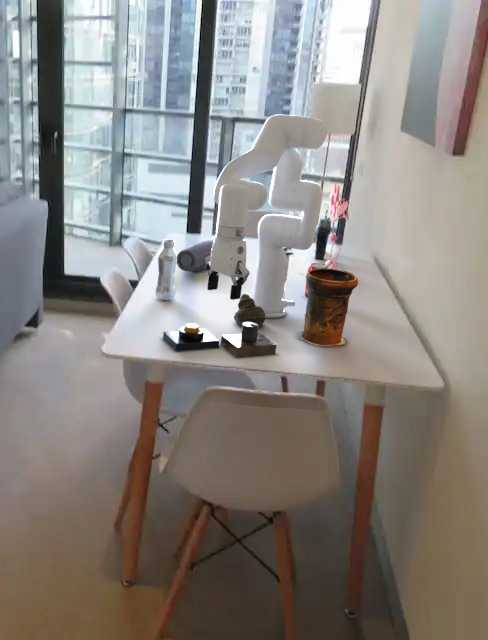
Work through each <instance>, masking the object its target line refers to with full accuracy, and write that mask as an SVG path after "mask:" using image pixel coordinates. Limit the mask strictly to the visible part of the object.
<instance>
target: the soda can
mask: <svg viewBox="0 0 488 640" xmlns="http://www.w3.org/2000/svg"><path fill="white" fill-rule="evenodd" d="M321 268H327V269H329V266H328V264H327V265H326V264H325V263H321V262H312V263H311V262H310V265H309V267H308V269H307V272H308V271H311V270H313V269H321ZM304 286H305V287H304V293H303V294H304V297H305V298H306V299H307V300H308V283H307V280H306V279H305V285H304Z"/></svg>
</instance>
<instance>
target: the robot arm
mask: <svg viewBox="0 0 488 640" xmlns="http://www.w3.org/2000/svg"><path fill="white" fill-rule="evenodd" d="M327 135H328V128H327V124H326V122H325V121H324V120H323V119H319V118H315V117H311V116H306V115H296V114H295V115H294V114H293V115H292V114H280V113H279V114H273V115H271V116H269V117H267V119H266V120H265V122H264V124H263V125H262V127H261V129H260V131H259V133H258V135H257V137H256V138H255V140H254V143H253V145H252V147H251V149H250V150H248V151H245V152H244V153H242V154H240V155H238V156H236V157H235V158H234V159H232V160H230V161H229V162H228V163H226V165H225V166H224V167H223V168H222V171H221V172H220V174H219V176H218V177H217V180H216V182H215V184H214V187H213V193H212V196H213V200H214V202H215V204H217V205H218V210H217V217H216V230H215V234H214V238H213V246H212V251H211V255H210V256H208V257H205V261H206V264H207V265H206V267H205V268H206V271H207V276H208V278H207V291H214V290H218V287H219V279H220V275H219V274H221V275H223V276H226V277H229V278H230V279H231V282H232V285H230V295H229V299H230V300H231V301H234V300H240V298H241V296H242V288H243V285H245V283H246V281H247V280H248V278H249V276H250V270H249V269H248V268H247V241H246V238H245V236H246V232H245V231H246V224H247V215H248V211H249V212H250V211H251V212H255V211H258V210H260V209H261V208H263V207H264V205H266V203H267V200H268V205H269V206H270V207H271V208H272V209H274V210H278V211H284V212H291V213H297V214H298V213H299V214H301V217H299V216H292V215H286V214H278V213H269V214H265V215H264V216H262V217H261V219H260V220H259V221H258V225H257V257H256V266H255V275H254V283H253V291H252V297H251V298H252V299H253V300H254V302H255V305H256V306H257V307H261V308H262V309H263V310H264V313H265V319H266V318H268V319H276V318H277V319H278V318H282V317H284V316H285V315H286V309H285V308H287V307H288V308H290V307H295V306H296V301H295V300H288V299H284V298H283V297H284V291H285V282H286V275H287V268H288V256H287V254H286V252H285V250H284V248H287V249H291V250H292V249H293V250H300V251H305V250H308V249H310V248H311V247H312V245H313V243H314V237H315V233H316V228H317V223H318V224H319V218H320V213H321V207H322V201H323V189H322V186H321V185H320V184H319V183H317V182H314V181H308V180H302V175H303V168H304V160H303V158H302V156H301V153H300V152H299V150H300V149H301V150H310V151H318V150H319V149H321V148H322V147H323V146H324V144H325V142H326V139H327ZM298 149H299V150H298ZM272 170H273V171H272ZM269 171H270V172H271V171H272V177H271V182H270V188H269V194H268V190H267V188H266V186H265V185H264V184H263V183H261V182H258V181H250V180H246V179H244V178H247V177H251V176H256V175H259V174H260V175H261V174H264V173H268V172H269Z"/></svg>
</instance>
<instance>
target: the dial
mask: <svg viewBox="0 0 488 640" xmlns="http://www.w3.org/2000/svg"><path fill="white" fill-rule="evenodd" d="M259 328H260V327H259V325H258V324H257V323H253V322H244V323H243V325H242V326H241V333H240V334H241V340H242V341H245V342H256V341H257V335H258V333H259Z"/></svg>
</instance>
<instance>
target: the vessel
mask: <svg viewBox="0 0 488 640" xmlns="http://www.w3.org/2000/svg"><path fill="white" fill-rule="evenodd" d="M327 268H328V267H327ZM327 268H321V269H313V270H311V271H308V270H307V272H306V275H305V281H306V280H307V283H308V299H307V302H306V305H305V306H306V307H305V313H304V324H303V331H301V332H300V333H298V334H297V335H296V337H298V338H299V339H300V340H301V341H304V342H306V343H309V345H313V346H315V347H318V346H321V347H333V346H344V345H345V343H346V341H345V339H344V338H343V331H344V326H345V324H346V319H347V314H348V310H349V301H350V298H351V295H352V293H353V291H354V289H356V288H357V287H358V284H359V279H358V276H357V275H356V274H354V273H353V272H351V271H346V270H344V271H343V270H339V269H337V270H335V269H329V268H328V269H327Z"/></svg>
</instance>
